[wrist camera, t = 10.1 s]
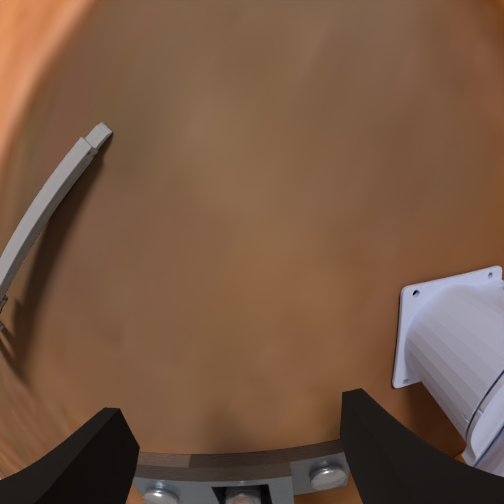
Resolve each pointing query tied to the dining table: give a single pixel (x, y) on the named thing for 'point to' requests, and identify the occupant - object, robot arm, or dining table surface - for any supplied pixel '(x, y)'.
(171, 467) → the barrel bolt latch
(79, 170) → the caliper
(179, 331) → the dining table surface
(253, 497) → the steel pin
